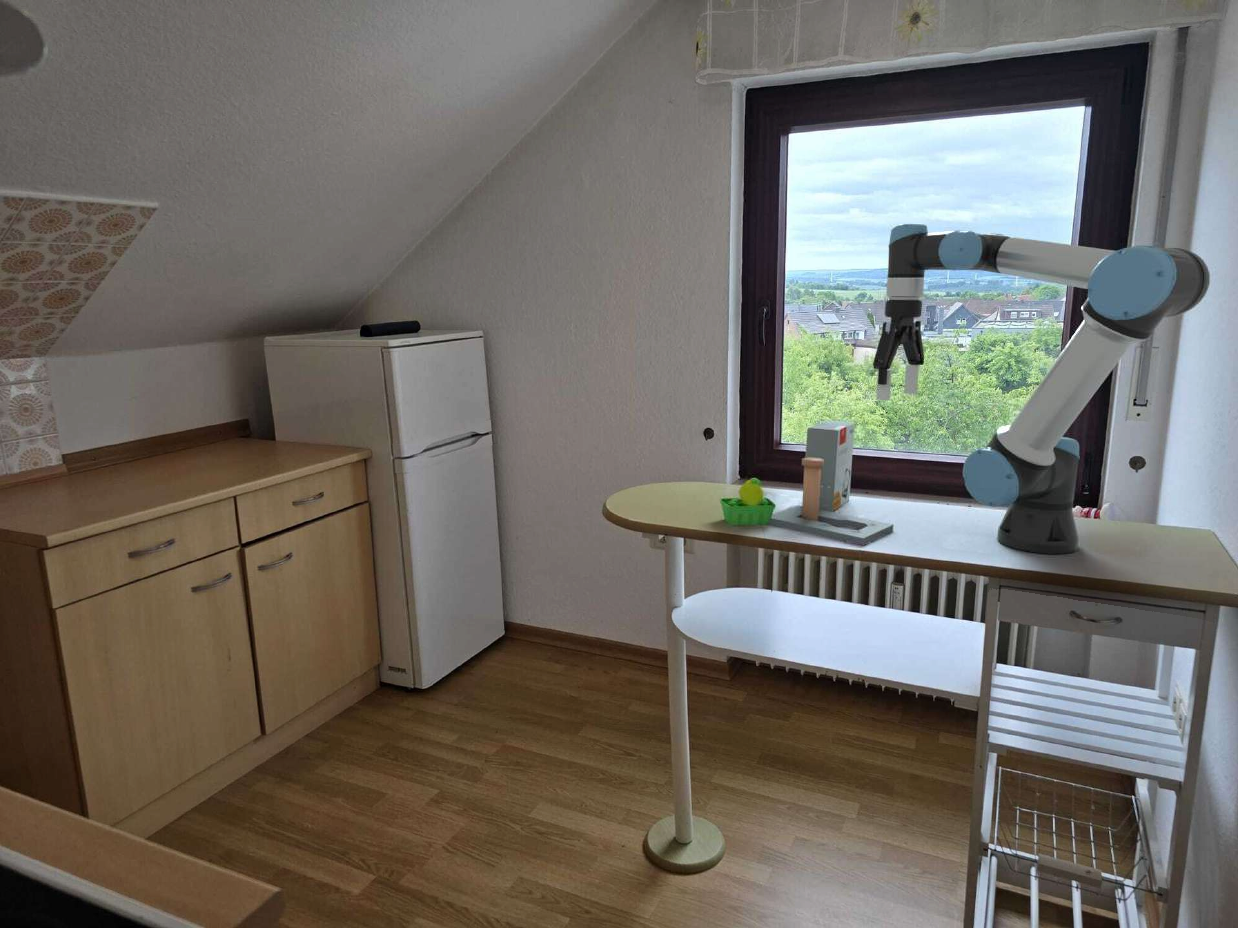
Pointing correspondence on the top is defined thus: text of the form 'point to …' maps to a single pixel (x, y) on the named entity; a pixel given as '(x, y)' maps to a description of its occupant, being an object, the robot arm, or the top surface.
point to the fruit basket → (748, 506)
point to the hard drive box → (832, 460)
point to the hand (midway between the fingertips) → (897, 396)
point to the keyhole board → (823, 526)
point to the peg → (811, 487)
